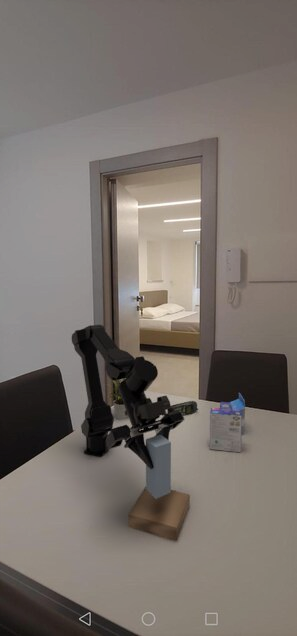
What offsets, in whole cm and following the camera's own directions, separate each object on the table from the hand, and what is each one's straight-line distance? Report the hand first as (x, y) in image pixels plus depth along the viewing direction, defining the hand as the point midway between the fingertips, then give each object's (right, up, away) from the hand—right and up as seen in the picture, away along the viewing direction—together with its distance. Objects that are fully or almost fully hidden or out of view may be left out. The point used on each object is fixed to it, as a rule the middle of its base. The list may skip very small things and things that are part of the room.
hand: (160, 465), depth 71 cm
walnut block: (0, -14, +3) cm, 14 cm away
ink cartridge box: (+22, -9, +33) cm, 41 cm away
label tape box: (+29, -8, +45) cm, 55 cm away
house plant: (-12, -7, +57) cm, 58 cm away
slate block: (0, -6, +2) cm, 7 cm away
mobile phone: (+12, -7, +58) cm, 60 cm away
